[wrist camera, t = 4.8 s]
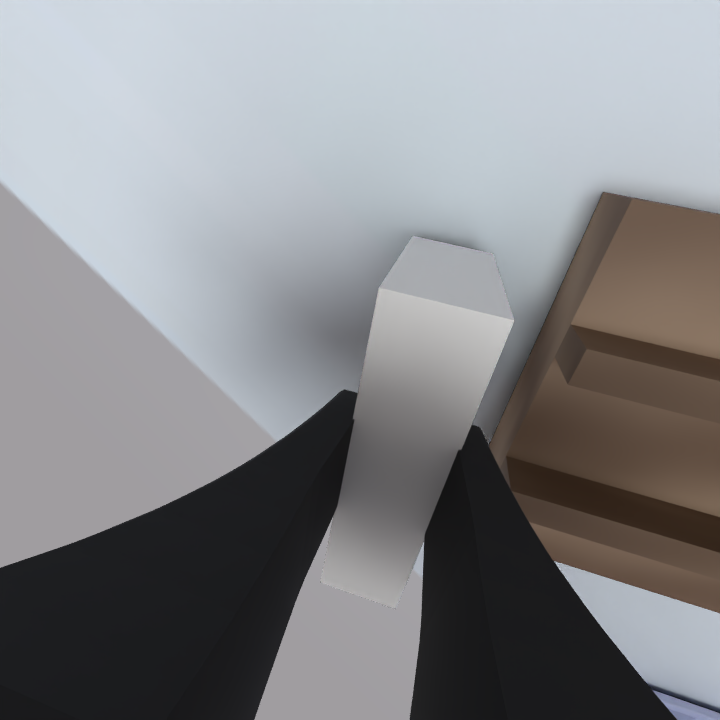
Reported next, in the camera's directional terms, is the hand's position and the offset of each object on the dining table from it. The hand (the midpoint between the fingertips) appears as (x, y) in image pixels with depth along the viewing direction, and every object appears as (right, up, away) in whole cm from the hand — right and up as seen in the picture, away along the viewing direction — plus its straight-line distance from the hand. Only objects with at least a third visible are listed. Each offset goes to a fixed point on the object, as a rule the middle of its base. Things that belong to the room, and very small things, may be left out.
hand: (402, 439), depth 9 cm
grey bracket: (+1, +1, +3) cm, 3 cm away
